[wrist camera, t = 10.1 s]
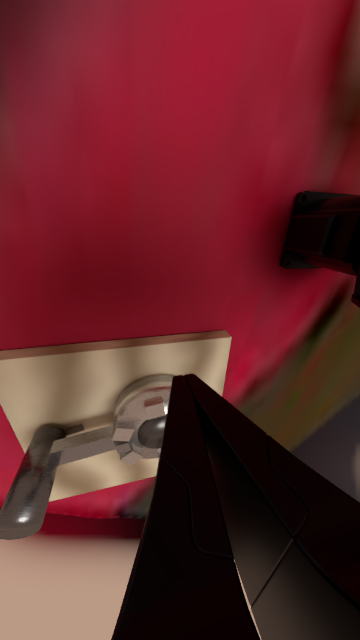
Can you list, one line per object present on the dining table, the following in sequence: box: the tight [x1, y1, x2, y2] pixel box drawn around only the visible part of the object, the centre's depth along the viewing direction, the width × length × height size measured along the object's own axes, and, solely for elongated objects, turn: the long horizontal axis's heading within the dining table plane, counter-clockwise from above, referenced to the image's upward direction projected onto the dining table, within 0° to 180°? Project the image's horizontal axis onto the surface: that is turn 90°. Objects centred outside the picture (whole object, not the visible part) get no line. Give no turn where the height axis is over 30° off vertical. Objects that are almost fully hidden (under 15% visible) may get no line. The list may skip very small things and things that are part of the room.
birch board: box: [0, 330, 232, 502], centre depth 24 cm, size 22×22×2 cm
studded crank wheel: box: [0, 375, 173, 540], centre depth 19 cm, size 17×9×7 cm, turn 97°
